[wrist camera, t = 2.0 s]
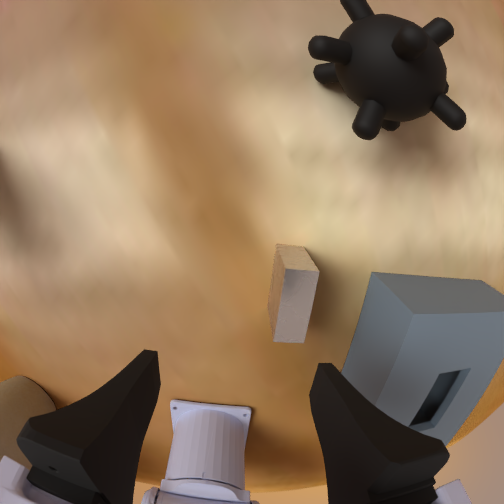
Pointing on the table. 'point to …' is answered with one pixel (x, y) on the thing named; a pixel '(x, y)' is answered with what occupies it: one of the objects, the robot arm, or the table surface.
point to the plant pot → (19, 413)
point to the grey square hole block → (426, 349)
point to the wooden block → (291, 293)
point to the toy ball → (388, 69)
